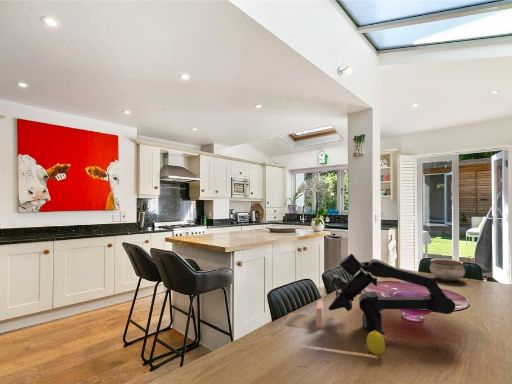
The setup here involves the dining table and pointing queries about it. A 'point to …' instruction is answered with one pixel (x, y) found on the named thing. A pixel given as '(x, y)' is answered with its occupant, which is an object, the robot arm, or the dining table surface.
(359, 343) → the dining table surface
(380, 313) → the robot arm
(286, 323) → the board
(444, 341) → the dining table surface
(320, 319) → the tile
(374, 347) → the lemon
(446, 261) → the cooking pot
